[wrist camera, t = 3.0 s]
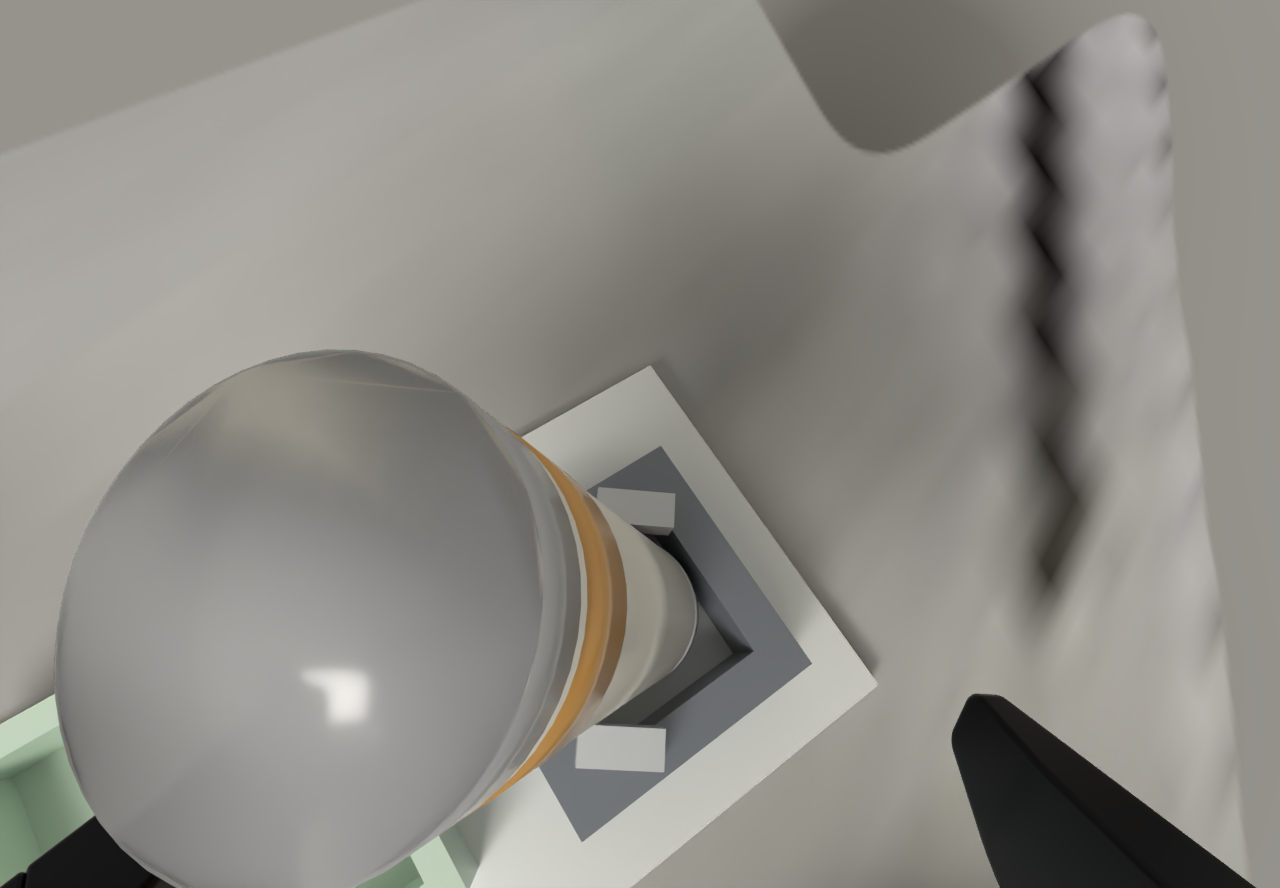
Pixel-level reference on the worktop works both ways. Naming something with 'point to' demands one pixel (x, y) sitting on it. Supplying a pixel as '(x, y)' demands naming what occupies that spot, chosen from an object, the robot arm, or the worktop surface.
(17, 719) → the tray
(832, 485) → the worktop surface
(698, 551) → the block
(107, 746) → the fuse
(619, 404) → the panel plate
